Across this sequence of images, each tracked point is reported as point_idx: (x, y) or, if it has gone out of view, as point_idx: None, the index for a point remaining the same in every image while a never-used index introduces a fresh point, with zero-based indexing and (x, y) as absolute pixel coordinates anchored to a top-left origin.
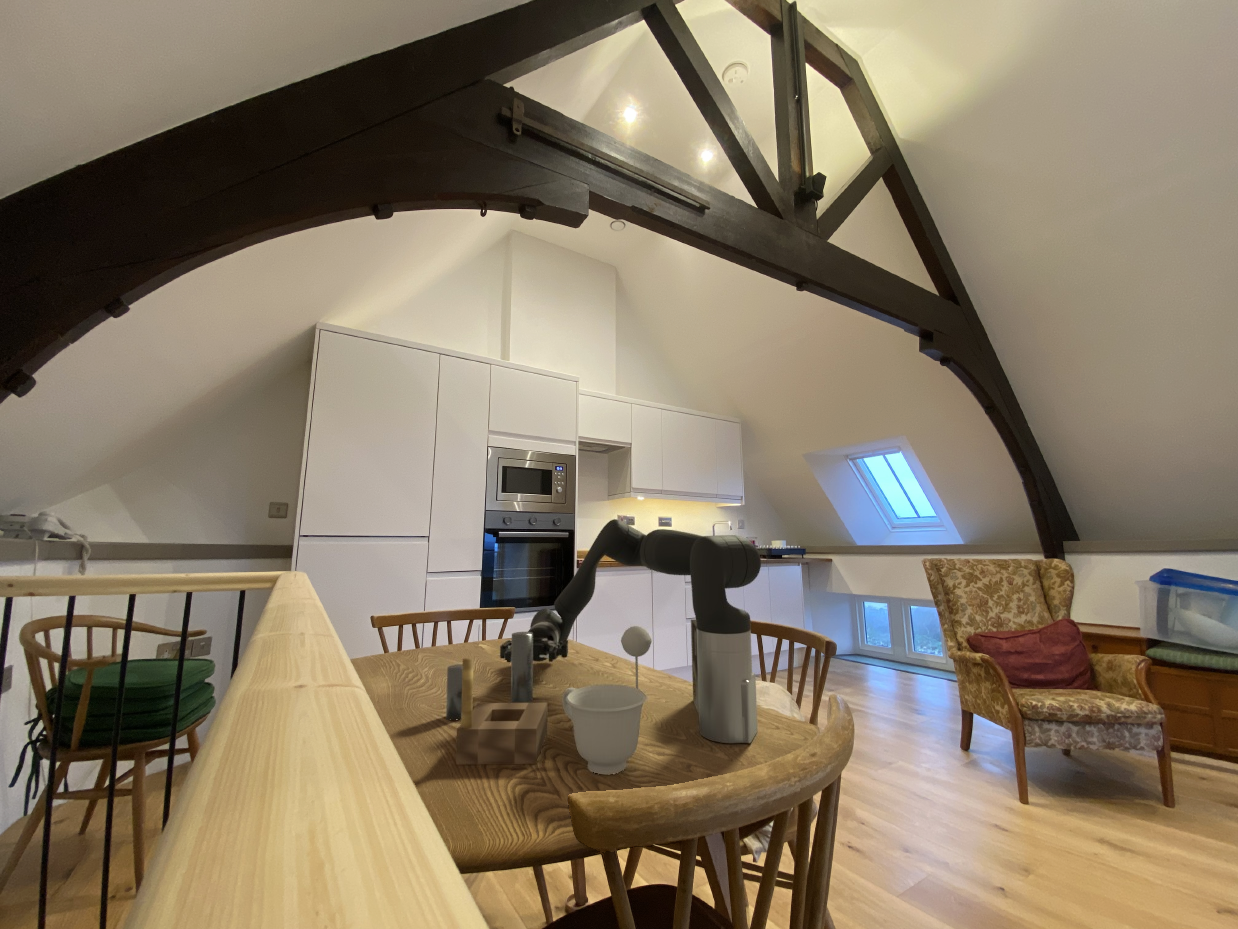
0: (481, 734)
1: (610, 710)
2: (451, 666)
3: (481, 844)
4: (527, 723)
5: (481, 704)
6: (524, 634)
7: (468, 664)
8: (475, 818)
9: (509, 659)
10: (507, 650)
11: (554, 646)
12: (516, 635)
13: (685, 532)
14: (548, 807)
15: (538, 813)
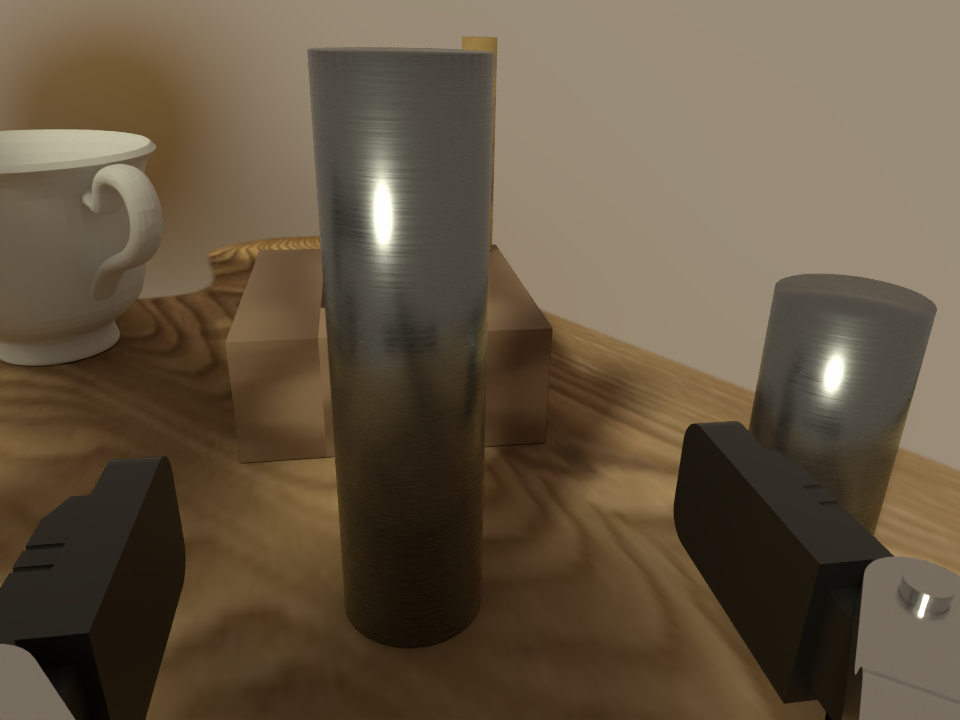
0: None
1: (45, 132)
2: (910, 298)
3: None
4: (292, 261)
5: (528, 322)
6: (376, 48)
7: None
8: None
9: (682, 492)
10: (859, 537)
11: (4, 644)
12: (431, 48)
13: None
14: (231, 274)
15: (249, 268)
